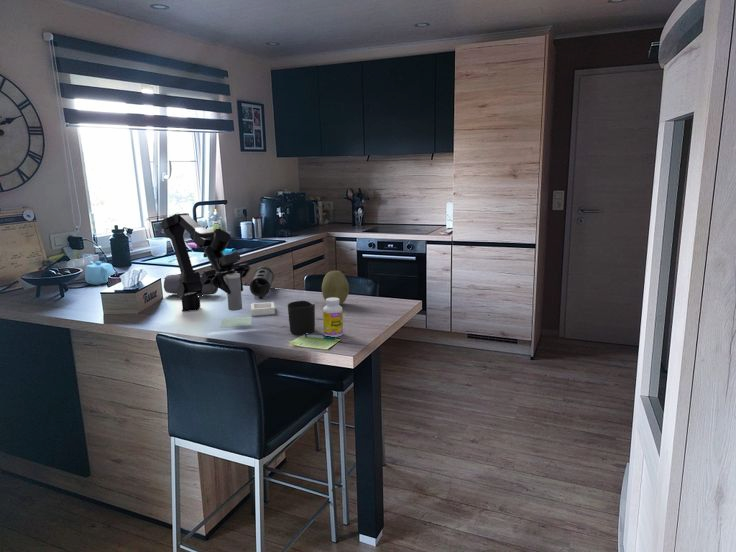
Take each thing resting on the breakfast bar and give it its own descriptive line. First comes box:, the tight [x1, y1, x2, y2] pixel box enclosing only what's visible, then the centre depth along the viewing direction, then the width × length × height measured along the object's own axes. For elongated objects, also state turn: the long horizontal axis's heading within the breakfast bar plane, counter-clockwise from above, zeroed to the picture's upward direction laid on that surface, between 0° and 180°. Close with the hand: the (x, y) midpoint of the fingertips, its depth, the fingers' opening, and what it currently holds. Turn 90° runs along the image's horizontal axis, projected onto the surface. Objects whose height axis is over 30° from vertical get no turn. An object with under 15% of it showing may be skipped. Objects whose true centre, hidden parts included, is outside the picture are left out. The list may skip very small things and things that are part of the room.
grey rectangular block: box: [225, 273, 243, 312], centre depth 186 cm, size 5×5×13 cm
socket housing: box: [250, 301, 276, 317], centre depth 201 cm, size 9×9×4 cm
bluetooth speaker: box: [163, 273, 219, 297], centre depth 232 cm, size 23×9×10 cm, turn 80°
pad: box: [220, 316, 253, 328], centre depth 189 cm, size 11×11×1 cm
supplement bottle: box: [322, 297, 344, 338], centre depth 173 cm, size 7×7×13 cm
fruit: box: [321, 269, 350, 306], centre depth 211 cm, size 11×11×15 cm
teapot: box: [84, 260, 116, 286], centre depth 262 cm, size 12×18×12 cm
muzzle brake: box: [249, 265, 275, 299], centre depth 237 cm, size 10×28×10 cm, turn 7°
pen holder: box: [287, 300, 316, 336], centre depth 178 cm, size 9×9×10 cm
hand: (236, 292), depth 185 cm, fingers closed on grey rectangular block, 5 cm apart
